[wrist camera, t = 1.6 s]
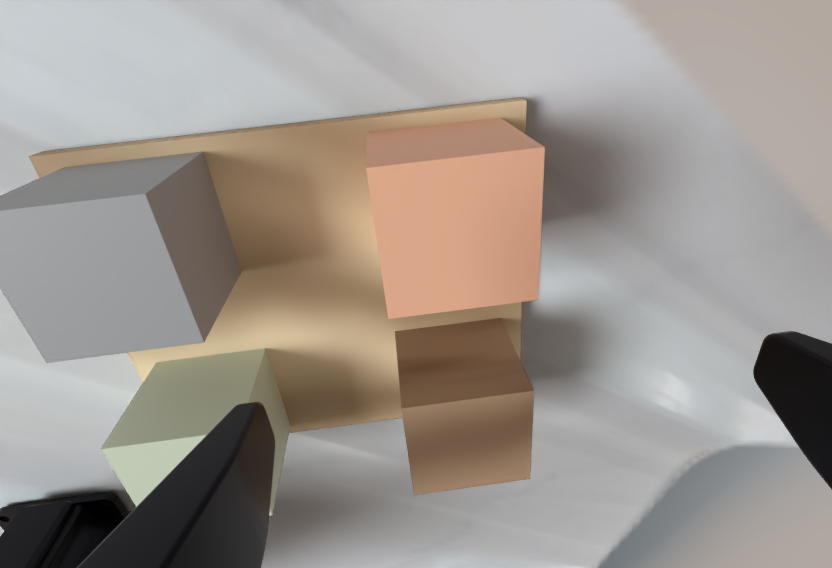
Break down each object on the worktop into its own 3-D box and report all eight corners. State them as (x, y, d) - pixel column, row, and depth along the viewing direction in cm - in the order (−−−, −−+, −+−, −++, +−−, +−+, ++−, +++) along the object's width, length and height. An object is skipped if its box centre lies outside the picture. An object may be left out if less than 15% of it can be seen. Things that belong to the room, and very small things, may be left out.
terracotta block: (500, 239, 20) (538, 299, 15) (384, 254, 19) (388, 319, 15) (500, 117, 17) (545, 147, 13) (366, 132, 17) (366, 168, 13)
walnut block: (500, 397, 24) (530, 478, 20) (405, 409, 24) (414, 494, 19) (500, 317, 21) (533, 390, 17) (394, 331, 21) (401, 408, 17)
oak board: (515, 391, 25) (519, 401, 24) (181, 436, 24) (176, 448, 24) (520, 97, 18) (526, 100, 17) (42, 151, 17) (28, 156, 16)
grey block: (241, 271, 19) (204, 343, 15) (120, 286, 19) (46, 363, 15) (203, 151, 17) (145, 194, 12) (64, 167, 17) (-45, 216, 12)
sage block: (290, 425, 24) (272, 515, 19) (192, 438, 23) (152, 532, 19) (265, 348, 21) (238, 430, 17) (156, 362, 21) (100, 449, 17)
